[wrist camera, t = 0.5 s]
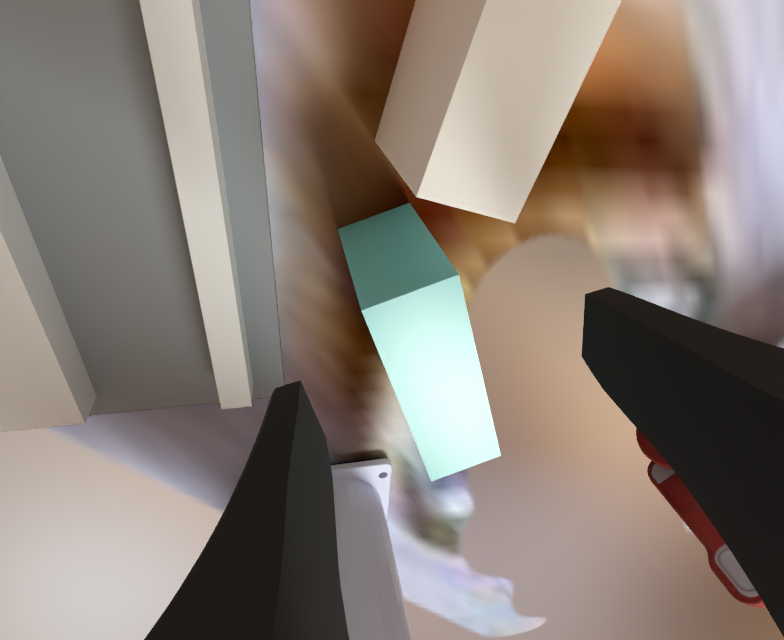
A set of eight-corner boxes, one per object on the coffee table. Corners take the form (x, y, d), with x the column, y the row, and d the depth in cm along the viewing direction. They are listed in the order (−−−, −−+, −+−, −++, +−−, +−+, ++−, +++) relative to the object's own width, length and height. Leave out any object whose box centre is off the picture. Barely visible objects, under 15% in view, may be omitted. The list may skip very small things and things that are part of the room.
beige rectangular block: (448, 162, 18) (514, 223, 13) (374, 140, 17) (416, 197, 12) (564, -146, 13) (732, -232, 8) (473, -202, 12) (606, -338, 7)
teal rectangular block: (453, 362, 23) (500, 455, 19) (398, 382, 23) (431, 481, 19) (409, 202, 18) (458, 274, 13) (337, 228, 18) (361, 310, 13)
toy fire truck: (805, 363, 30) (1010, 502, 22) (646, 472, 34) (770, 628, 25) (777, 310, 27) (1010, 452, 18) (602, 439, 30) (730, 607, 22)
